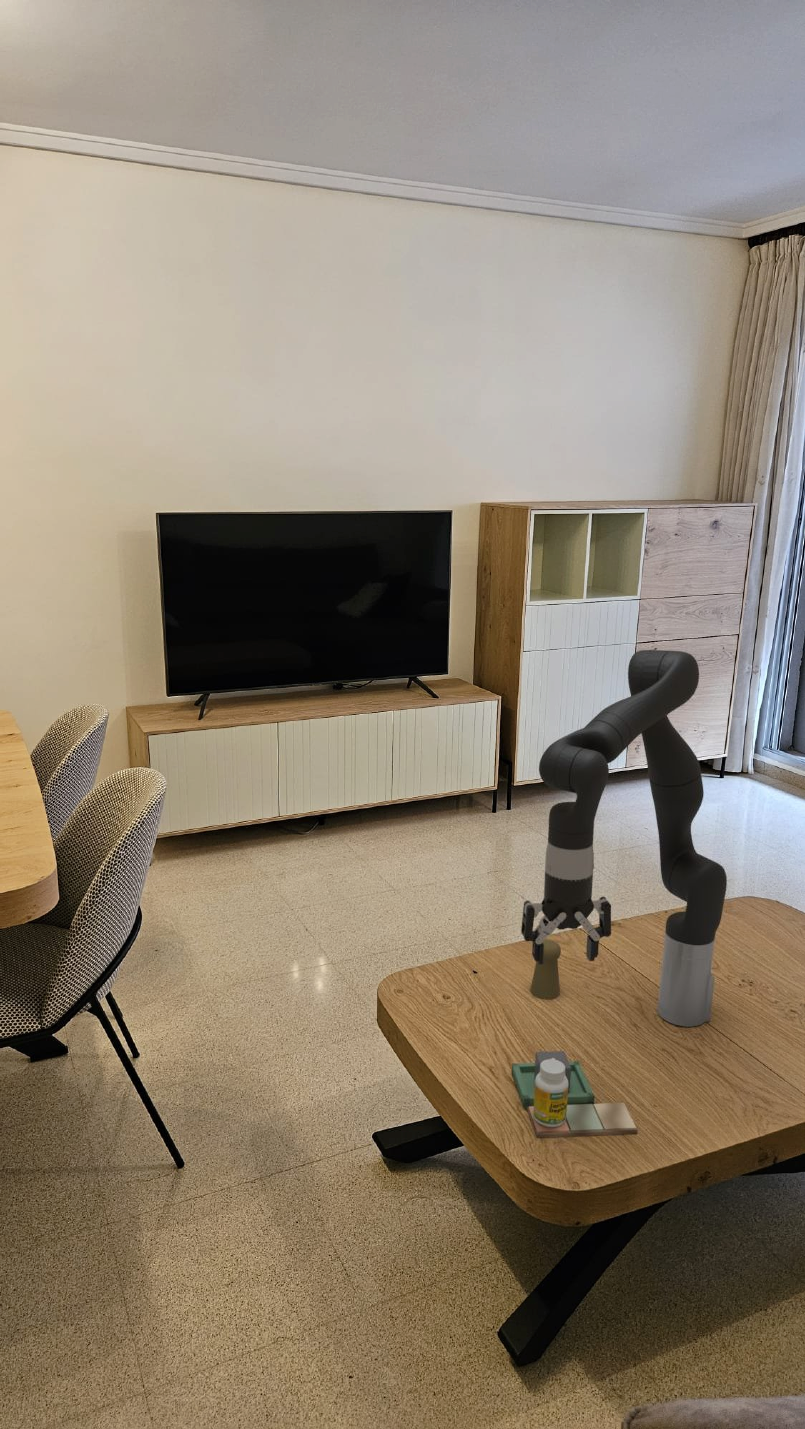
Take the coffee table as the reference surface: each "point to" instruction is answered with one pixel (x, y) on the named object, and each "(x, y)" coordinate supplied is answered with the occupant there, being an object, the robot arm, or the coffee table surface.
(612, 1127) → the track
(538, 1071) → the die
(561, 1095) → the supplement bottle
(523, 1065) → the tray
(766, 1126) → the coffee table surface
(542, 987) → the olive game pawn
